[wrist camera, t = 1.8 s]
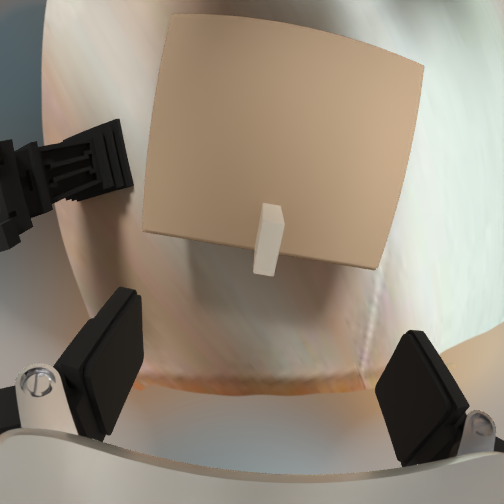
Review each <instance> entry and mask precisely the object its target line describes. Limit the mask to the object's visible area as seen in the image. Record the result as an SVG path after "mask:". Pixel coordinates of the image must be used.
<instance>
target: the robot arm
mask: <svg viewBox="0 0 504 504" xmlns="http://www.w3.org/2000/svg"><path fill="white" fill-rule="evenodd" d="M143 358H144V350H143V332H142V302H141V296H140V295H137V292H136V290H133V289H129V288H124V287H119V288H118V289H117V290H116V291H115V292H114V294H113V295H112V296H111V297H110V299H109V300H108V301H107V302H106V304H105V305H104V306H103V307H102V308H101V310H100V311H99V312H98V314H97V315H96V316H95V317H94V318H92V319H90V320H88V321H87V323H86V324H85V325H84V327H83V328H82V329H81V330H80V332H79V333H78V334H77V335H76V337H75V338H74V339H73V341H72V342H71V343H70V345H69V346H68V347H67V348H66V350H65V351H64V352H63V354H62V355H61V357H60V358H59V359H58V361H57V362H56V363H55V365H54V366H53V367H51V366H49V365H47V364H42V363H41V364H32V365H29V366H27V367H25V368H24V369H22V370H21V371H20V373H19V374H18V376H17V378H16V382H15V386H11V387H6V388H2V389H0V504H504V441H503V440H501V439H500V438H498V437H496V426H495V424H494V421H493V420H492V418H491V417H490V416H489V415H488V414H486V413H484V412H482V411H479V410H474V411H471V412H470V413H468V415H466V413H465V411H466V410H467V409H468V408H469V404H468V402H467V400H466V398H465V397H464V395H463V393H462V391H461V390H460V389H459V387H458V385H457V383H456V381H455V380H454V378H453V376H452V375H451V373H450V372H449V370H448V368H447V367H446V365H445V364H444V362H443V360H442V359H441V357H440V356H439V354H438V353H437V351H436V349H435V348H434V346H433V345H432V343H431V342H430V340H429V339H428V337H427V336H426V334H425V333H424V332H423V331H416V330H409V331H407V332H406V334H404V335H403V336H402V337H401V339H400V341H399V343H398V345H397V347H396V349H395V351H394V353H393V355H392V357H391V359H390V361H389V363H388V364H387V366H386V368H385V370H384V372H383V373H382V375H381V377H380V379H379V381H378V382H377V384H376V387H375V393H376V396H377V399H378V402H379V405H380V408H381V411H382V414H383V416H384V419H385V422H386V426H387V429H388V432H389V435H390V438H391V441H392V444H393V447H394V450H395V454H396V457H397V460H398V461H400V462H401V465H402V467H401V468H395V469H388V470H379V471H371V472H360V473H347V474H326V475H288V474H266V473H253V472H242V471H233V470H225V469H218V468H211V467H205V466H199V465H193V464H188V463H182V462H177V461H173V460H168V459H164V458H159V457H155V456H151V455H147V454H143V453H139V452H135V451H131V450H128V449H124V448H121V447H118V446H114V445H111V444H107V443H103V440H104V437H105V435H111V433H112V431H113V429H114V426H115V424H116V422H117V419H118V417H119V415H120V412H121V410H122V408H123V406H124V403H125V401H126V399H127V396H128V394H129V392H130V390H131V387H132V385H133V383H134V381H135V379H136V376H137V374H138V372H139V370H140V368H141V365H142V363H143ZM92 438H93V439H92ZM94 439H95V440H94ZM97 440H98V441H97ZM100 441H101V442H100ZM417 464H418V465H417Z"/></svg>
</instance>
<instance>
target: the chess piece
mask: <svg viewBox="0 0 504 504" xmlns="http://www.w3.org/2000/svg"><path fill="white" fill-rule="evenodd" d="M133 185H134V184H133V180H132V176H131V171H130V167H129V163H128V158H127V154H126V149H125V144H124V140H123V135H122V130H121V125H120V119H115V120H112V121H109V122H107V123H104V124H101V125H99V126H96V127H94V128H91V129H89V130H86V131H84V132H81V133H79V134H76V135H74V136H72V137H69V138H67V139H65V140H63V142H61V143H58V144H52V145H47V146H42V147H38V145H37V141H36V142H31V143H29V144H27V145H25V146H23V147H21V148H20V149H18V150H16V151H14V148H13V142H12V140H5V141H0V252H1V251H5V250H8V249H10V248H12V247H14V246H15V245H17V244H18V243H20V242H21V240H20V238H19V234H22V233H23V232H25V231H27V230H28V229H30V228H32V227H33V225H32V221H31V218H32V217H35V216H38V215H41V214H44V213H47V212H49V211H51V210H53V208H52V204H53V203H55V202H57V201H59V200H61V199H64V198H66V201H67V200H70V199H72V201H74V200H77V202H78V201H81V200H84V199H88V198H91V197H95V196H98V195H101V194H105V193H109V192H112V191H116V190H119V189H123V188H127V187H131V186H133Z"/></svg>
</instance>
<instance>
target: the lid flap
mask: <svg viewBox="0 0 504 504" xmlns="http://www.w3.org/2000/svg"><path fill="white" fill-rule="evenodd" d="M423 72H424V66H423V65H421V64H419V63H417V62H414V61H412V60H410V59H407V58H405V57H402V56H400V55H397V54H395V53H392V52H389V51H387V50H384V49H381V48H379V47H376V46H373V45H370V44H367V43H364V42H361V41H357V40H354V39H351V38H348V37H344V36H341V35H337V34H333V33H329V32H325V31H321V30H317V29H313V28H308V27H304V26H299V25H294V24H289V23H283V22H277V21H271V20H264V19H257V18H249V17H240V16H229V15H214V14H172V15H171V19H170V23H169V27H168V32H167V36H166V40H165V45H164V50H163V55H162V60H161V65H160V70H159V75H158V81H157V87H156V93H155V99H154V105H153V112H152V119H151V127H150V135H149V144H148V153H147V163H146V174H145V187H144V201H143V221H142V229H143V230H149V231H156V232H162V233H168V234H174V235H180V236H186V237H192V238H198V239H205V240H211V241H217V242H223V243H229V244H235V245H241V246H247V247H253V248H255V250H254V265H253V273H255V274H261V275H267V276H273V277H274V272H275V268H276V263H277V259H278V254H279V252H283V253H289V254H295V255H301V256H307V257H313V258H319V259H325V260H330V261H336V262H342V263H348V264H354V265H360V266H366V267H372V268H377V269H378V266H379V263H380V260H381V257H382V254H383V251H384V248H385V245H386V241H387V238H388V235H389V232H390V228H391V225H392V222H393V218H394V215H395V211H396V208H397V204H398V200H399V197H400V193H401V189H402V185H403V181H404V177H405V173H406V169H407V164H408V160H409V155H410V151H411V146H412V141H413V136H414V131H415V125H416V120H417V114H418V108H419V102H420V95H421V88H422V80H423Z"/></svg>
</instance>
